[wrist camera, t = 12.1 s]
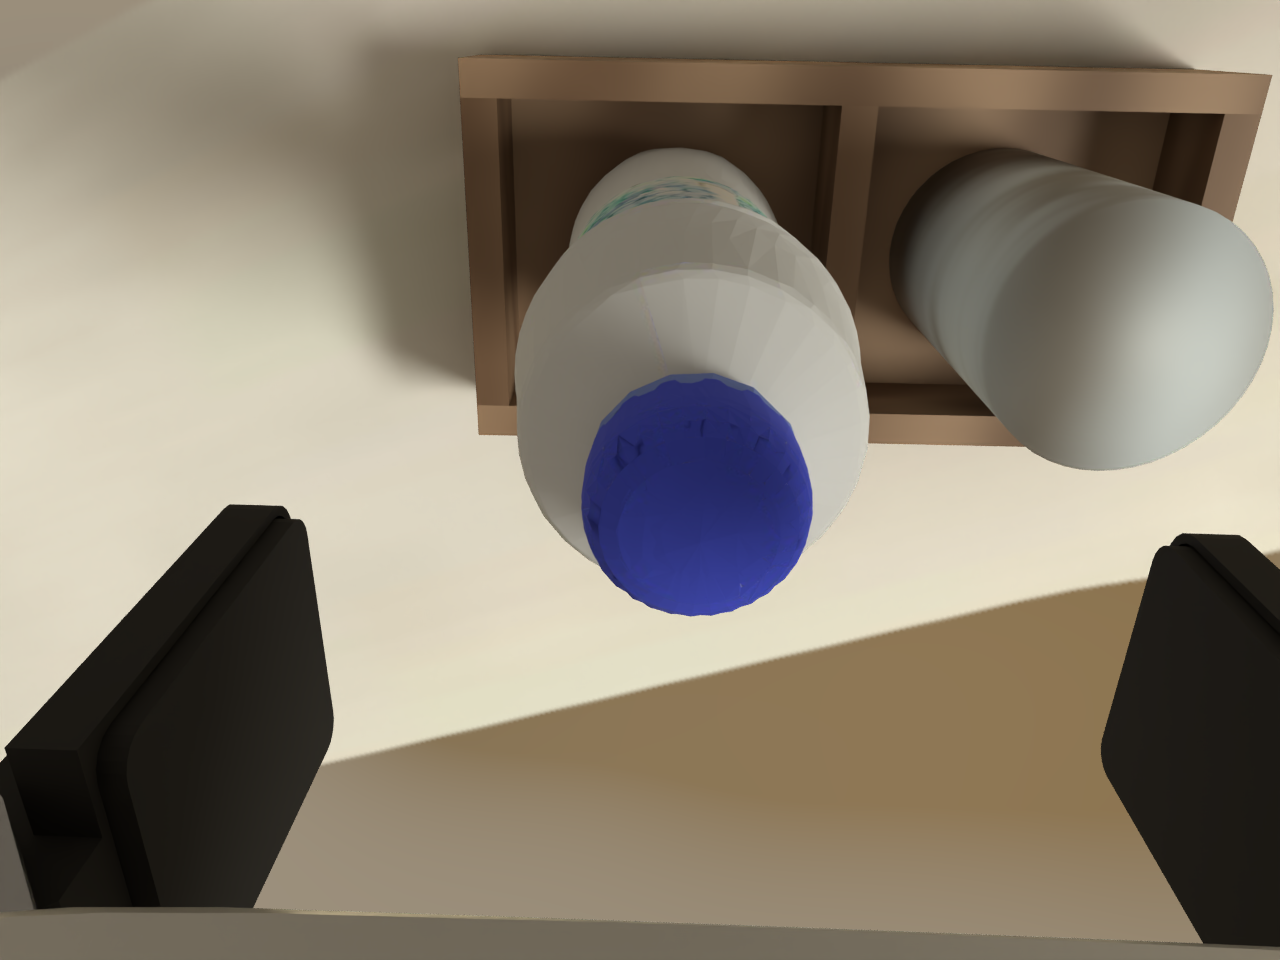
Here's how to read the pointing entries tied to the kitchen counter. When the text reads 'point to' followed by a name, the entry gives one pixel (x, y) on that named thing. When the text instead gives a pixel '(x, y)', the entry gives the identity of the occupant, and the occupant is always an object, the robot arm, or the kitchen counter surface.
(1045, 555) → the kitchen counter surface
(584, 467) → the bottle
